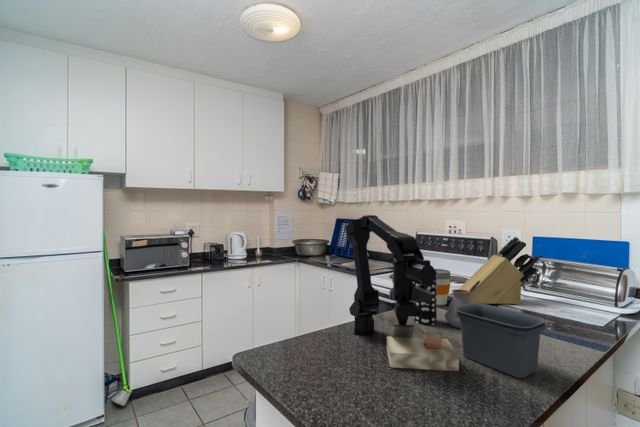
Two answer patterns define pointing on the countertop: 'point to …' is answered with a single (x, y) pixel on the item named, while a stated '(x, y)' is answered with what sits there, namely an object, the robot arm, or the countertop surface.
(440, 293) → the reusable coffee cup
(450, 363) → the block
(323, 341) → the countertop surface
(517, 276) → the knife block
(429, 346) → the peg
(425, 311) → the white-spotted black cylinder
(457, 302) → the coffee pot
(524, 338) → the storage bin
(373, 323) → the robot arm
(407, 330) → the latch flap
